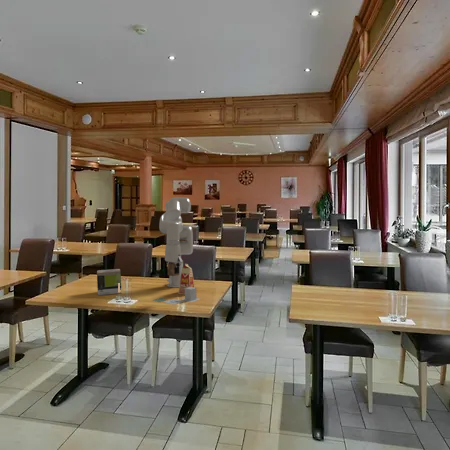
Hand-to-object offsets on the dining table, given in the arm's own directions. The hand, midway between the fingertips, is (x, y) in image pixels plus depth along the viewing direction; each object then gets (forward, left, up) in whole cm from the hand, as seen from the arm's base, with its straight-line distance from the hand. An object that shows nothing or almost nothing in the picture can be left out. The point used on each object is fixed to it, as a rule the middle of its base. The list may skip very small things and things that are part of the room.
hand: (173, 272), depth 239 cm
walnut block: (0, 0, -1) cm, 1 cm away
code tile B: (+4, +10, -18) cm, 21 cm away
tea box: (-50, -12, -18) cm, 54 cm away
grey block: (+4, +10, -18) cm, 21 cm away
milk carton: (-10, +20, -18) cm, 28 cm away
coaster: (-9, -3, -18) cm, 20 cm away
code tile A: (0, 0, -18) cm, 18 cm away
